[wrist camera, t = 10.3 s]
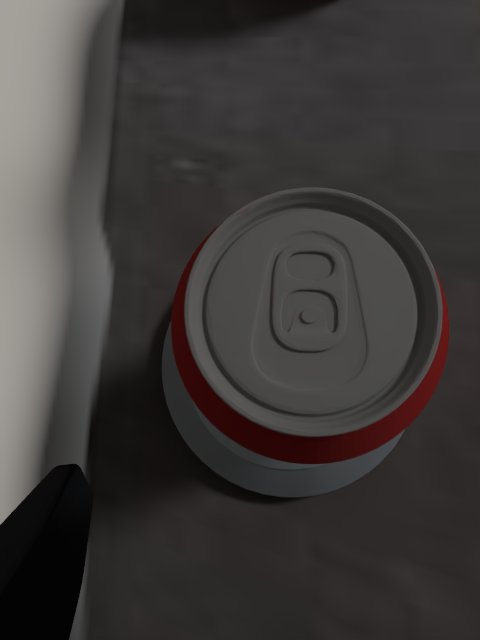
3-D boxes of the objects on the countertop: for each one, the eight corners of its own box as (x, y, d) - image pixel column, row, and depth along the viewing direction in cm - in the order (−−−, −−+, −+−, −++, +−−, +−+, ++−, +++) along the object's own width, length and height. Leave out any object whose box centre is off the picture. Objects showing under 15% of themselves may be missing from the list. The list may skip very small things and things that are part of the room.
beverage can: (219, 436, 21) (137, 466, 9) (226, 292, 22) (162, 158, 11) (371, 443, 20) (491, 485, 9) (369, 295, 22) (470, 154, 10)
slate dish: (414, 504, 21) (422, 509, 20) (155, 482, 22) (148, 486, 21) (412, 251, 23) (419, 242, 22) (178, 244, 24) (172, 236, 23)
